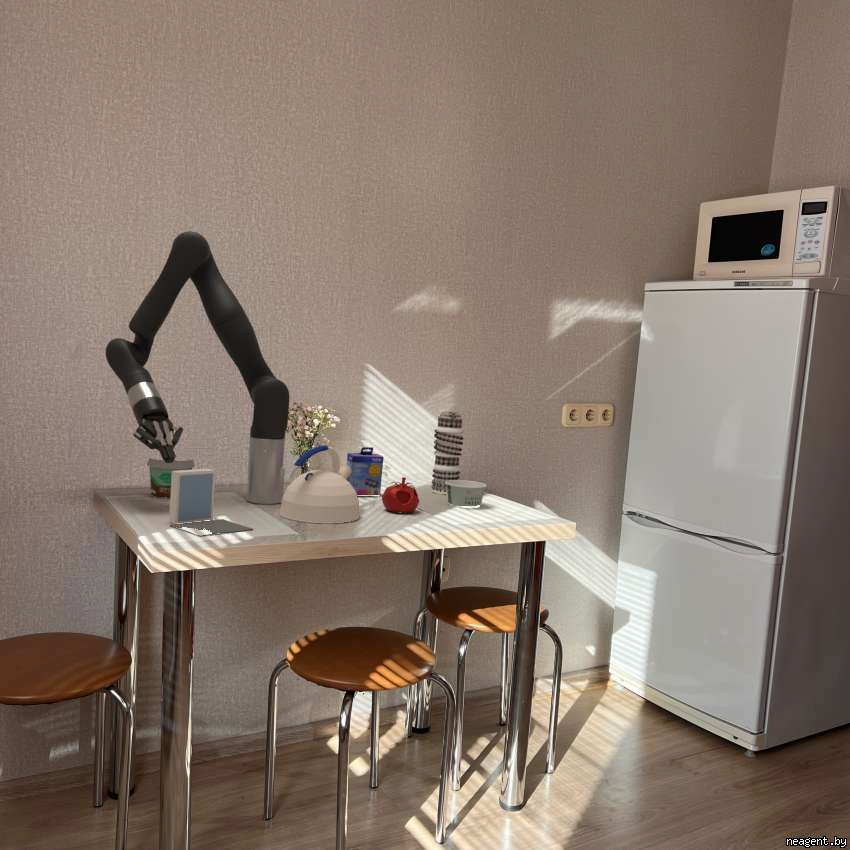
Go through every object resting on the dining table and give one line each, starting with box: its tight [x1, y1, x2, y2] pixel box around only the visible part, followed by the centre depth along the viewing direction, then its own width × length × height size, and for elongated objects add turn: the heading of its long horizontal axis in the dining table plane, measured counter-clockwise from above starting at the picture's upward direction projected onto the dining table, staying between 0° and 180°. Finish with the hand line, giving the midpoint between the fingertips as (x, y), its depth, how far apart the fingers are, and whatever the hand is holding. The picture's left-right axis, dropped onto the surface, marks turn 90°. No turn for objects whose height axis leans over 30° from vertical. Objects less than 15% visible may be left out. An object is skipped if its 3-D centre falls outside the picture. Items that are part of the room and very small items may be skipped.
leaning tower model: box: [431, 411, 465, 492], centre depth 272 cm, size 9×9×25 cm
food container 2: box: [445, 479, 488, 506], centre depth 253 cm, size 12×12×6 cm
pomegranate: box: [381, 476, 420, 514], centre depth 237 cm, size 10×10×9 cm
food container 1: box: [146, 457, 195, 499], centre depth 233 cm, size 12×6×10 cm, turn 112°
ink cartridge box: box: [346, 446, 385, 496], centre depth 257 cm, size 10×6×14 cm, turn 114°
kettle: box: [279, 444, 360, 525], centre depth 223 cm, size 20×21×18 cm
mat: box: [169, 518, 254, 534], centre depth 200 cm, size 12×14×1 cm
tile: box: [168, 468, 216, 524], centre depth 205 cm, size 3×10×12 cm, turn 137°
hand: (170, 460), depth 211 cm, fingers closed
